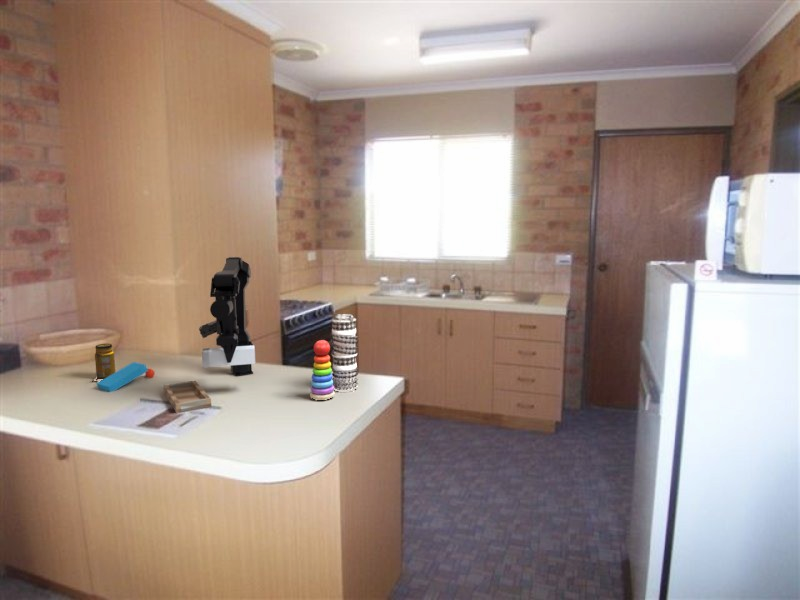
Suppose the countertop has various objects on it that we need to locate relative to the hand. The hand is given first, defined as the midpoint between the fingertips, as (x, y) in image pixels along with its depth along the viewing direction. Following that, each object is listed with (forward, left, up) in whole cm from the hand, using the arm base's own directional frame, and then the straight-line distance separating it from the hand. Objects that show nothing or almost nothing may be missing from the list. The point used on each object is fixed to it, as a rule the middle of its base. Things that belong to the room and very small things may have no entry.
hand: (229, 360), depth 176 cm
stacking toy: (-24, +19, -11) cm, 33 cm away
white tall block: (0, 0, -1) cm, 1 cm away
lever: (+27, -30, -12) cm, 42 cm away
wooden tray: (+13, -2, -11) cm, 17 cm away
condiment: (+33, -41, -11) cm, 54 cm away
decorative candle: (-34, +15, -11) cm, 39 cm away
